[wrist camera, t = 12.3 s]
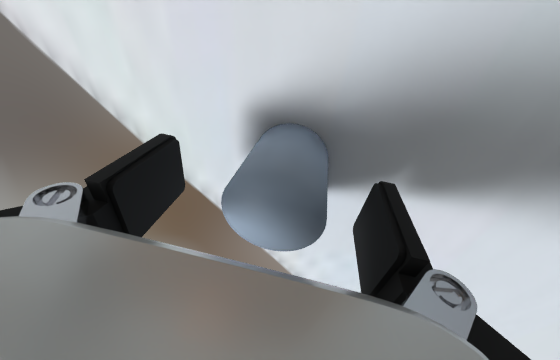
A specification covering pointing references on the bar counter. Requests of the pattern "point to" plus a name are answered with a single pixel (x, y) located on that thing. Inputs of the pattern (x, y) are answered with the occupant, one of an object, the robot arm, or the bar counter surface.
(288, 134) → the blue-grey rounded cylinder
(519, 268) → the bar counter surface
